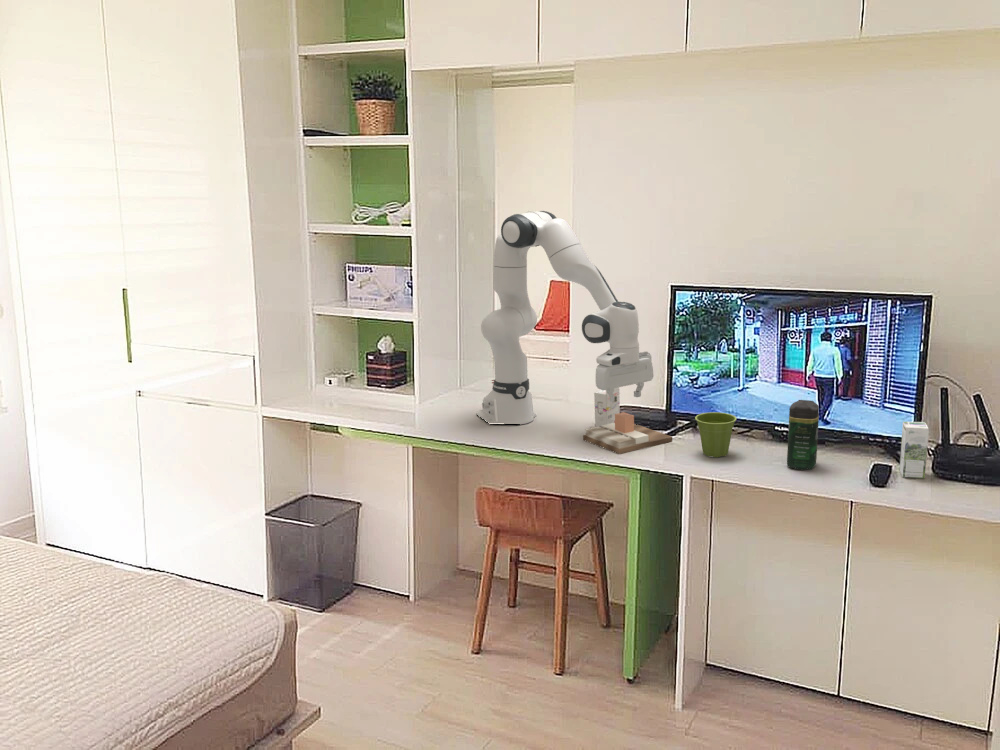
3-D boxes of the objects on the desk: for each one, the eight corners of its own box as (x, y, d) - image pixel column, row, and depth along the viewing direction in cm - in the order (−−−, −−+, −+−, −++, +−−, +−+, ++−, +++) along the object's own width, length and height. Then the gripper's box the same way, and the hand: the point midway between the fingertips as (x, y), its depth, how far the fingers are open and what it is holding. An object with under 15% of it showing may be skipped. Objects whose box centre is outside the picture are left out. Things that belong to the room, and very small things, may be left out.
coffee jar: (814, 472, 259) (817, 407, 255) (784, 469, 263) (787, 405, 258) (818, 461, 268) (821, 398, 264) (789, 458, 271) (791, 396, 267)
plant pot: (692, 448, 284) (692, 412, 281) (731, 447, 283) (732, 411, 280) (697, 460, 272) (698, 423, 270) (739, 460, 272) (740, 422, 269)
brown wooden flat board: (583, 439, 296) (583, 429, 295) (635, 428, 306) (635, 417, 305) (619, 454, 281) (618, 442, 280) (672, 441, 291) (672, 430, 290)
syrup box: (921, 472, 257) (925, 421, 253) (925, 479, 251) (929, 427, 248) (899, 471, 258) (902, 420, 255) (902, 478, 253) (905, 426, 249)
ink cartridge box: (607, 420, 316) (607, 378, 313) (620, 422, 313) (620, 379, 310) (594, 426, 310) (593, 383, 306) (607, 428, 307) (606, 385, 303)
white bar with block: (601, 431, 298) (601, 410, 297) (613, 428, 301) (613, 407, 299) (635, 444, 284) (635, 422, 282) (648, 441, 287) (648, 419, 285)
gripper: (644, 349, 294) (644, 391, 297) (591, 358, 284) (593, 402, 287) (657, 352, 289) (658, 395, 292) (604, 361, 279) (605, 406, 282)
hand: (625, 399), depth 289 cm, fingers open, 8 cm apart
